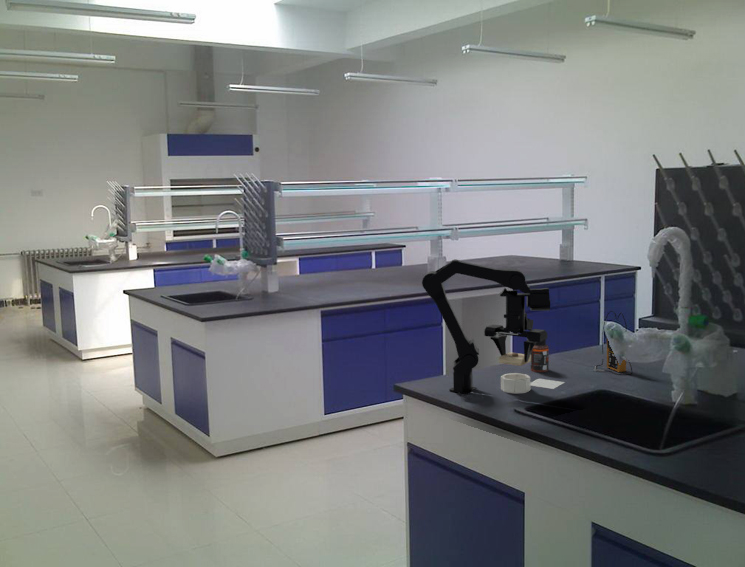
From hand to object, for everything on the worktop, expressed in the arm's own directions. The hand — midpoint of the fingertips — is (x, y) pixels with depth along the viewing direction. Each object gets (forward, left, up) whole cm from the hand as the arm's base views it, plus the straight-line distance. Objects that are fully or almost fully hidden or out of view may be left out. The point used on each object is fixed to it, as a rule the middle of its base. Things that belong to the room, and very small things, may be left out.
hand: (515, 360), depth 224 cm
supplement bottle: (+26, +4, -10) cm, 28 cm away
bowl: (0, 0, -10) cm, 10 cm away
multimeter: (+38, -15, -10) cm, 42 cm away
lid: (0, 0, -1) cm, 0 cm away
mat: (+11, -5, -10) cm, 15 cm away
